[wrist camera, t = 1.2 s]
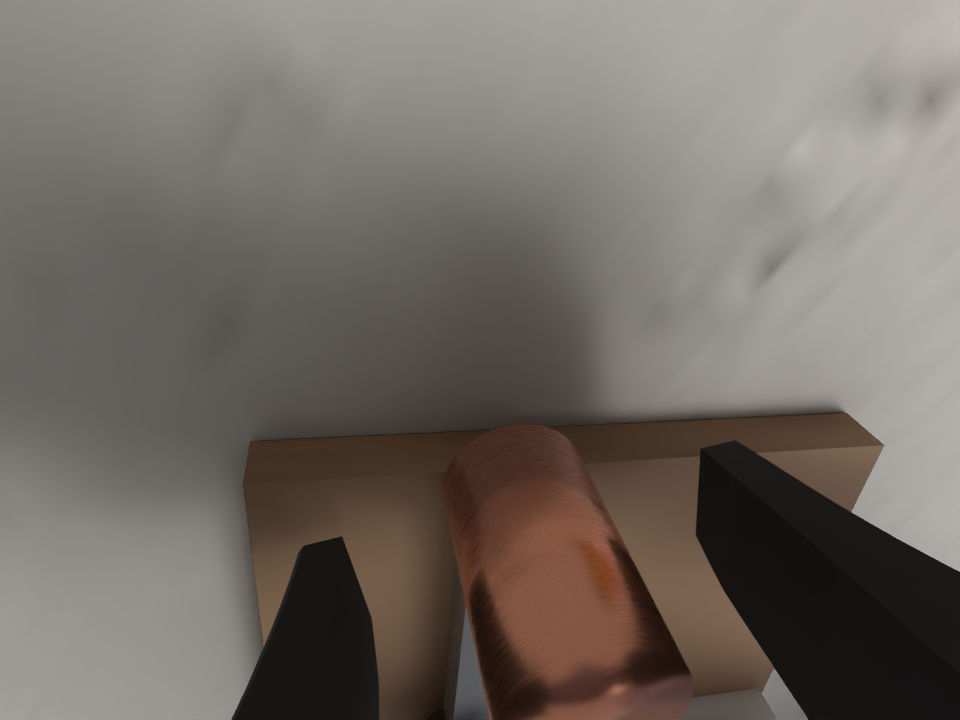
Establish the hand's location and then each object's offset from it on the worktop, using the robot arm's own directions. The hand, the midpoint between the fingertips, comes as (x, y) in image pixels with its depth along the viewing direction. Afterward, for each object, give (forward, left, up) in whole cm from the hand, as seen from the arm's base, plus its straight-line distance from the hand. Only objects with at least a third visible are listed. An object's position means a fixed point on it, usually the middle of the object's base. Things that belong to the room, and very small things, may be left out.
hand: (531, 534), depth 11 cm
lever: (-5, +3, -1) cm, 6 cm away
